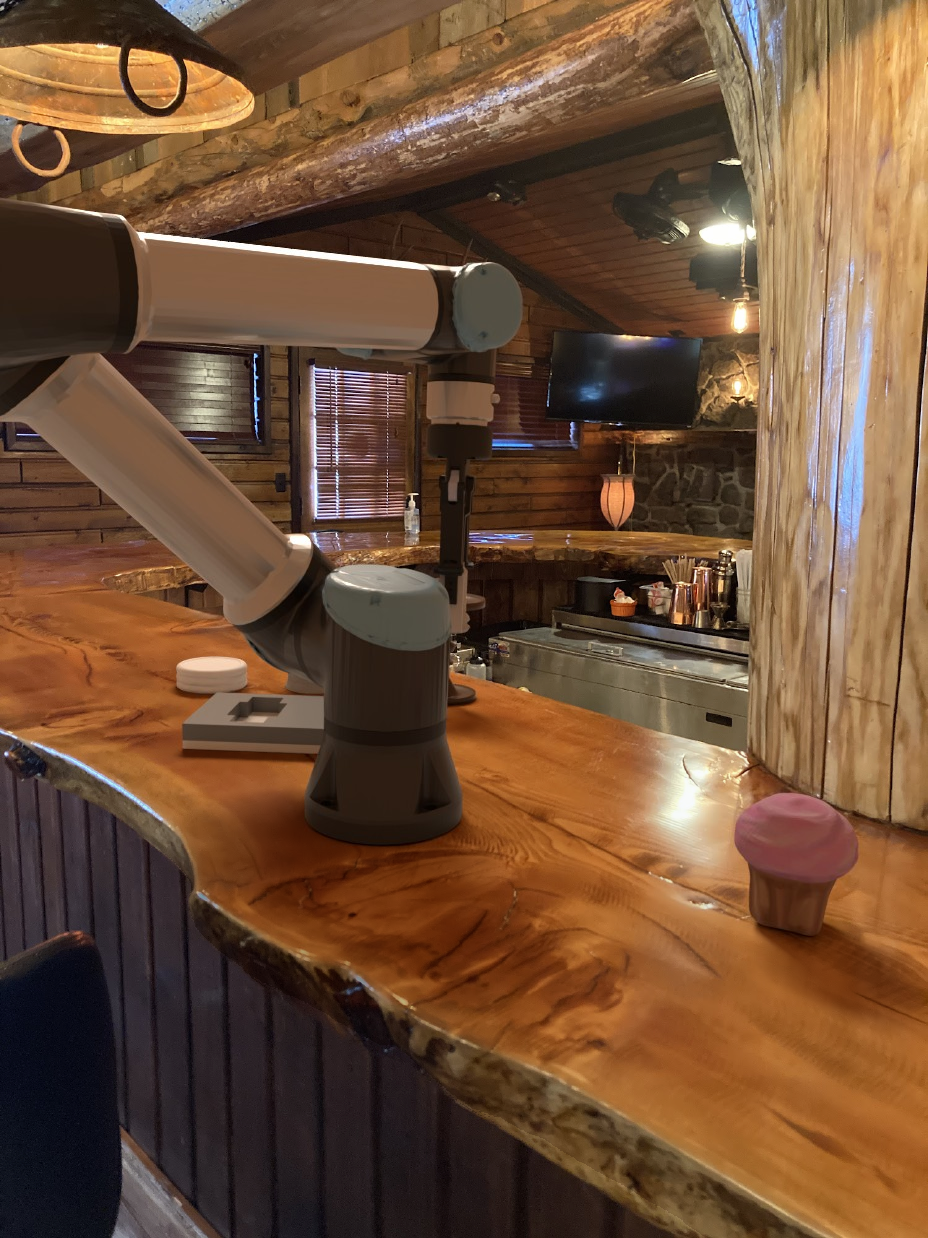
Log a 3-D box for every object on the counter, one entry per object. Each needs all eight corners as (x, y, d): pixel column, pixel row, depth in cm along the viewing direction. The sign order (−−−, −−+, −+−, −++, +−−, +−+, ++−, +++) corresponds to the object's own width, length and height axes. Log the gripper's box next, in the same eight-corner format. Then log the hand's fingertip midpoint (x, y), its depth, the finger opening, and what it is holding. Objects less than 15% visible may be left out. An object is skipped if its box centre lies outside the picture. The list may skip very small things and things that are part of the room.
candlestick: (428, 684, 139) (434, 448, 133) (494, 694, 135) (503, 450, 129) (392, 700, 130) (396, 447, 124) (461, 711, 125) (469, 449, 119)
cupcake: (719, 933, 69) (730, 805, 67) (735, 885, 77) (745, 770, 75) (847, 962, 65) (863, 829, 63) (851, 909, 73) (864, 789, 71)
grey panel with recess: (408, 757, 106) (409, 689, 104) (182, 748, 106) (181, 681, 105) (416, 722, 120) (418, 662, 118) (217, 714, 120) (216, 654, 119)
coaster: (256, 680, 139) (256, 657, 139) (233, 697, 129) (233, 672, 129) (192, 676, 140) (192, 654, 140) (165, 693, 130) (164, 668, 130)
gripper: (489, 421, 95) (479, 644, 99) (496, 427, 112) (487, 617, 116) (417, 418, 95) (409, 640, 99) (435, 425, 112) (428, 614, 116)
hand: (451, 627), depth 107 cm, fingers closed on rook chess piece, 4 cm apart
